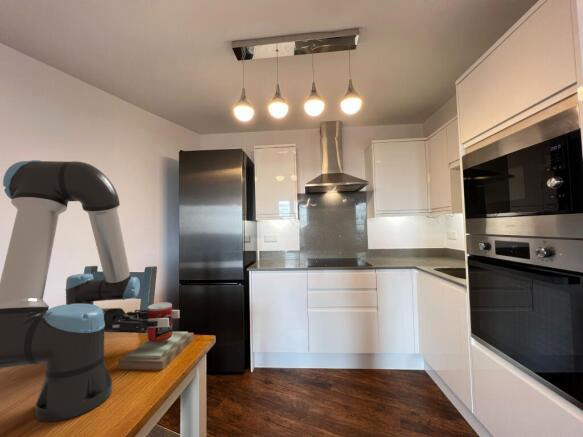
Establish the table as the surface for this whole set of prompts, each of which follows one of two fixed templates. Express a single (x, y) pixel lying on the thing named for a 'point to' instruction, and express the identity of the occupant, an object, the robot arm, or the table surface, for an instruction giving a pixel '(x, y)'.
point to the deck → (156, 352)
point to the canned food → (160, 312)
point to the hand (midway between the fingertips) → (173, 318)
